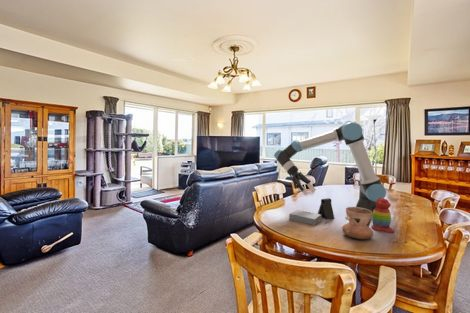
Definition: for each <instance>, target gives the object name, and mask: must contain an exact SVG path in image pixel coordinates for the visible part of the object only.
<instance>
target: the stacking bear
mask: <svg viewBox="0 0 470 313" xmlns="http://www.w3.org/2000/svg"><path fill="white" fill-rule="evenodd" d="M376 206H377V207H376V208H375V209H374V211H373V213H372V216H371V222H372V225H371V230H374V231H377V232H380V233H387V234H394V233H395V230H394V229H393V228H391V227H390V225H391V223H392V222H391V221H392V216H391V211H390V208H391V206H392V204H391V203H390V201H389V200H388V199H386V198H381V197H380V198H379V199H378V200H377V201H376Z"/></svg>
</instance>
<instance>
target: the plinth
mask: <svg viewBox="0 0 470 313" xmlns="http://www.w3.org/2000/svg"><path fill="white" fill-rule="evenodd" d="M321 216H322V215H321V214H318V213H316V212H310V211H304V210H300V209H296V210H294V211H292V212H290V213H289V214H288V217H289V218H288V219H289V220H291V221H295V222H299V223H304V224H307V225H313V226H315V225H317V224H318V223H319V222H321V221H322V217H321Z"/></svg>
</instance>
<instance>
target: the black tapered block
mask: <svg viewBox="0 0 470 313" xmlns="http://www.w3.org/2000/svg"><path fill="white" fill-rule="evenodd" d="M317 214H321V215H322V216H321V219H324V220H332V219H335V214H334V210H333V206H332V199H331V198H329V197H328V198H322V199H320V205H319V209H318V212H317Z"/></svg>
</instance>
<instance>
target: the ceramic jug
mask: <svg viewBox="0 0 470 313" xmlns="http://www.w3.org/2000/svg"><path fill="white" fill-rule="evenodd" d="M345 213H346V216H345V217H344V219H345V220H346V221H348V222H347V223H345V224H343V226H342V227H341V229H342V232H343V233H344V235H346V236H347V237H349V238H352V239H355V240H368V239H371V238H372V237H373V235H374V231H373V229H372V228H370V225H371V222H372V214H373V213H372V211H370V210H368V209H365V208H360V207H356V206H347V207H346V208H345Z"/></svg>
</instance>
